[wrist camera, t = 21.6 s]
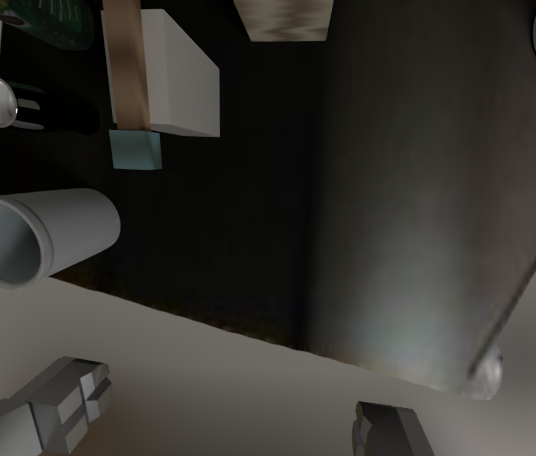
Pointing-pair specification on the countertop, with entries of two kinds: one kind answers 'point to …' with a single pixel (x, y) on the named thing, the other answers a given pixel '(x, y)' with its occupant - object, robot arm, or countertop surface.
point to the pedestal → (175, 79)
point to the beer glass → (43, 110)
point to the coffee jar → (52, 21)
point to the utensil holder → (52, 232)
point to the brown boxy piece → (285, 19)
